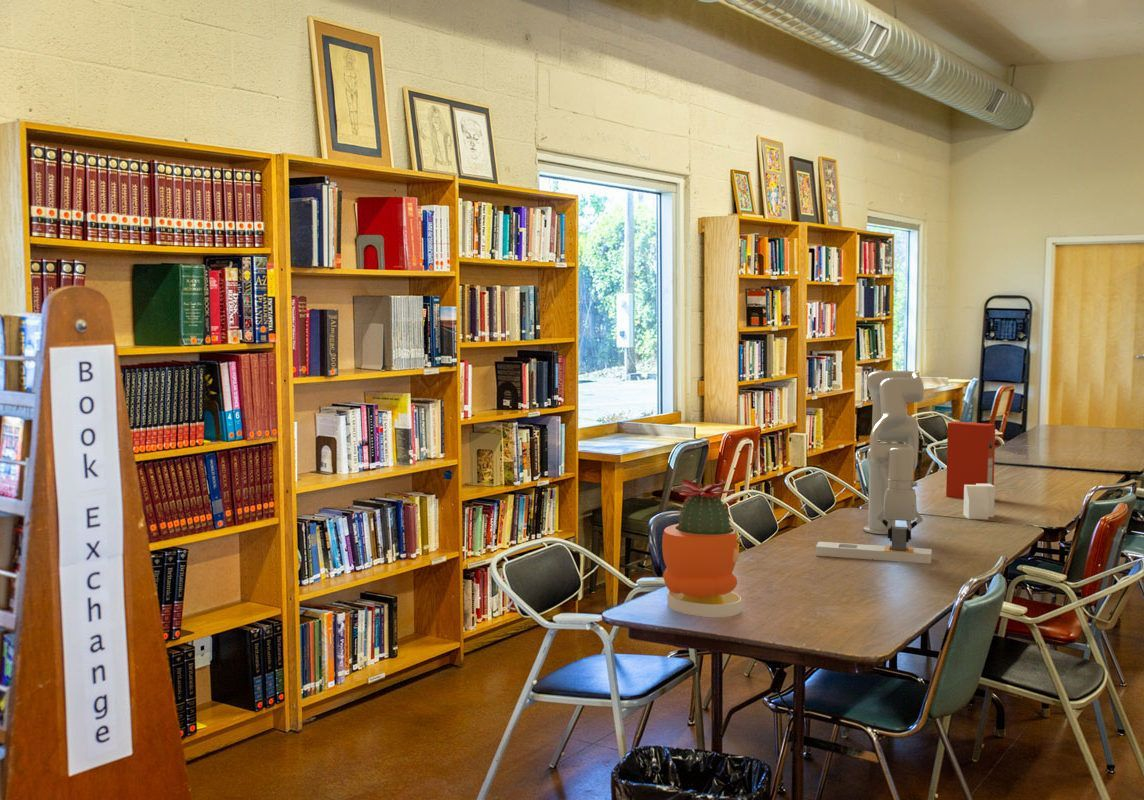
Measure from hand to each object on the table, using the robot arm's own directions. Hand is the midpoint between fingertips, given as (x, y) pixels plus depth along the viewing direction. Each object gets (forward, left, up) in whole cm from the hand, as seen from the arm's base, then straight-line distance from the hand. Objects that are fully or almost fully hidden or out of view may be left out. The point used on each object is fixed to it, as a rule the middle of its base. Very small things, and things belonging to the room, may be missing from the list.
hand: (899, 540), depth 351 cm
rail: (0, -8, -6) cm, 10 cm away
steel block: (0, 0, -4) cm, 4 cm away
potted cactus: (+79, -48, -6) cm, 93 cm away
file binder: (-127, +23, -6) cm, 129 cm away
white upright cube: (-85, +26, -6) cm, 89 cm away
